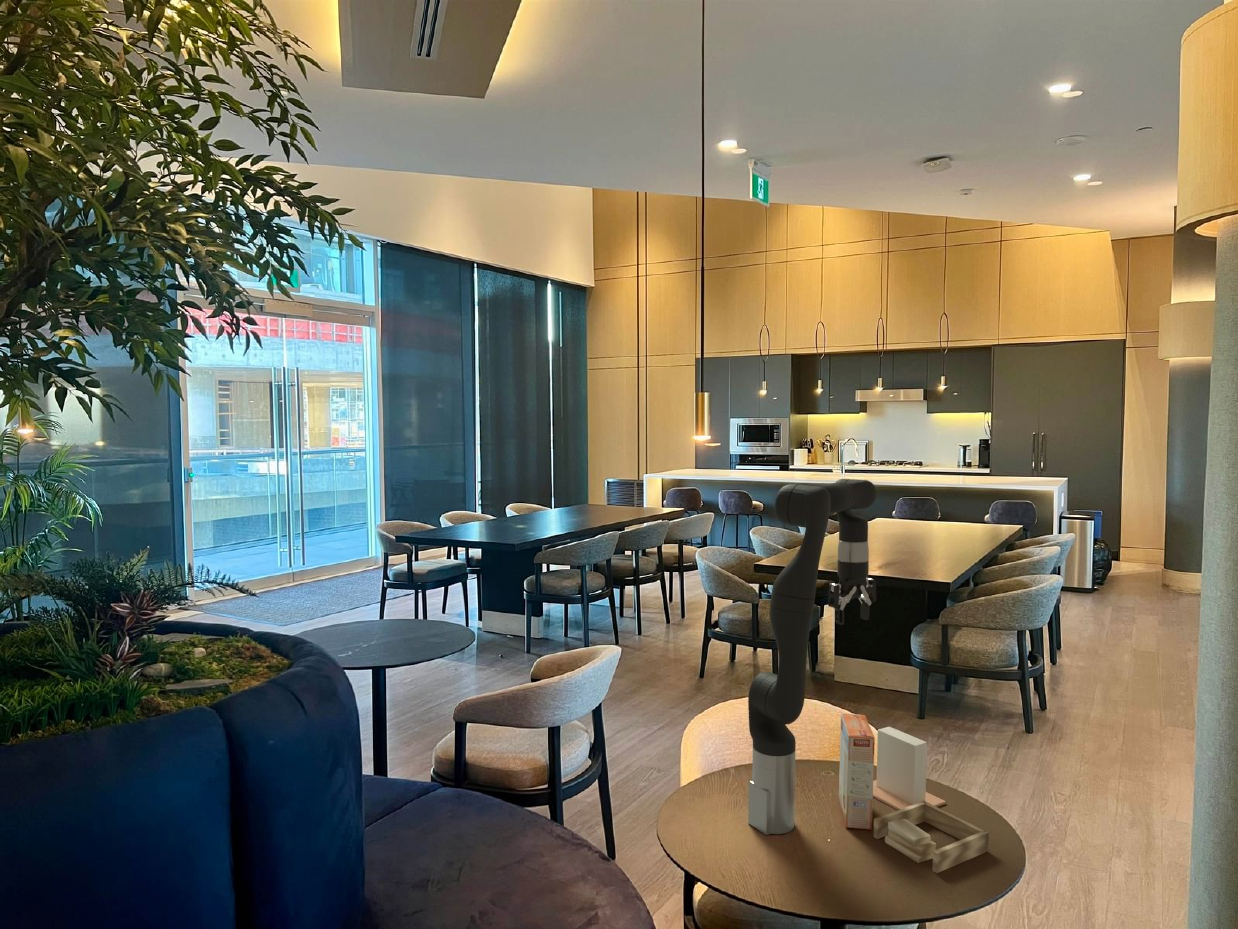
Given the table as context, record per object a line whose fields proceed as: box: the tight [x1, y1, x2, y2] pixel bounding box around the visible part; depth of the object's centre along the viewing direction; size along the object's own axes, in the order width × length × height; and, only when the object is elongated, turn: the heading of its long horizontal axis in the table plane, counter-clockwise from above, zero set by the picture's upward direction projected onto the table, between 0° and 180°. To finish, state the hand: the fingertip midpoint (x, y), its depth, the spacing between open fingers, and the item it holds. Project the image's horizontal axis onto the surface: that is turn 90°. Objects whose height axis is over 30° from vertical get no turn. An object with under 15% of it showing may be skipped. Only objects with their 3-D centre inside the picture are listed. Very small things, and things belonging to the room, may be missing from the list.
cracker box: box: [838, 713, 876, 831], centre depth 183 cm, size 14×6×21 cm, turn 171°
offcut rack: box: [873, 801, 989, 874], centre depth 171 cm, size 16×16×4 cm
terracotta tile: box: [873, 779, 947, 811], centre depth 193 cm, size 12×16×1 cm
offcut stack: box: [884, 819, 937, 864], centre depth 169 cm, size 5×9×4 cm, turn 27°
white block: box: [876, 726, 928, 805], centre depth 192 cm, size 4×11×14 cm, turn 31°
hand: (852, 621), depth 206 cm, fingers open, 8 cm apart
